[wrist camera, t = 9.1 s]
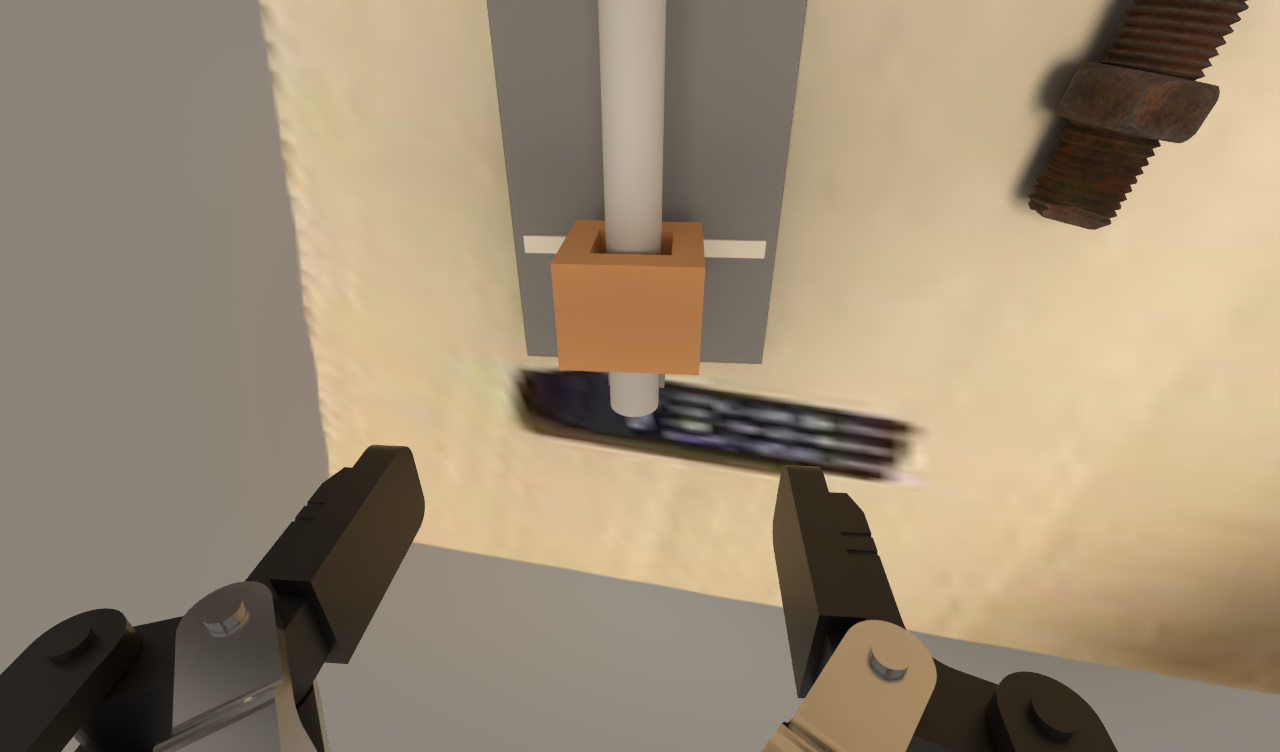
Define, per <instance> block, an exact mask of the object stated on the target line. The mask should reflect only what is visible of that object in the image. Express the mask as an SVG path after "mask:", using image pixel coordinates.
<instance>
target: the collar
mask: <svg viewBox="0 0 1280 752" xmlns="http://www.w3.org/2000/svg"><path fill="white" fill-rule="evenodd" d="M551 275H552V287H553V299H554V311H555V323H556V335H557V347H558V359H559V370H573V371H600V372H628V373H655V374H682V375H699V362H700V346H701V330H702V314H703V297H704V281H705V256H704V242H703V229H702V223H699V222H662V238H661V255H641V254H606V237H605V221H602V220H576V221H575V223H574V224H573V226H572V228H571V230H570V231H569V233H568V235H567V236H566V238H565V240H564V242H563V243H562V245H561V247H560V248H559V250H558V252H557V253H556V255H555V257H554V259H553V260H552V262H551Z"/></svg>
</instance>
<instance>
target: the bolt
mask: <svg viewBox="0 0 1280 752" xmlns="http://www.w3.org/2000/svg"><path fill="white" fill-rule="evenodd" d="M1133 1H1134V3H1135V4H1136V5H1135V6H1133V7H1131V8H1129V9H1127V12H1128V13H1129V15H1130V17H1127V18H1125V19H1123V20H1121V21H1122V23H1123V25H1124V27H1123V28H1121V29H1119V30H1117V31H1116V33H1117V35H1118V37H1119V38H1117V39H1115V40H1112V41H1110V43H1111V44H1112V46H1113V48H1112V49H1109V50H1107V51H1105V54H1106V55H1107V57H1108V58H1107V59H1105V60H1103V61H1100V62H1099V63H1094V62H1087V61H1082V62H1081V63H1080V65H1079V67H1078V69H1077V71H1076V72H1075V74H1074V76H1073V78H1072V80H1071V82H1070V84H1069V86H1068V88H1067V90H1066V92H1065V94H1064V95H1063V97H1062V99H1061V101H1060V103H1059V105H1058V107H1057V109H1056V111H1055V114H1056V115H1058V116H1061V117H1064V118H1067V119H1069V121H1070V122H1071V124H1072V125H1069V126H1067V127H1065V128H1064V129H1065V131H1066V132H1067V133H1066V134H1064V135H1062V136H1060V137H1059V138H1060V139H1061V140H1062V142H1061V143H1059V144H1056V145H1055V147H1056V148H1057V150H1058V151H1055V152H1053V153H1051V156H1052V157H1053V159H1051V160H1049V161H1047V162H1046V164H1047V165H1048V168H1046V169H1044V170H1041V172H1042V173H1043V175H1044V176H1042V177H1040V178H1038V179H1037V181H1038V183H1039V185H1036V186H1033V187H1032V188H1033V190H1034V191H1035V192H1034V193H1031V194H1028V196H1029V198H1030V199H1031V200H1030V202H1029V203H1028V205H1029V207H1030V209H1032V210H1036V211H1037V212H1038V213H1039V214H1040V215H1041V216H1043V217H1045V218H1049V219H1053V220H1056V221H1060V222H1064V223H1067V224H1071V225H1075V226H1079V227H1083V228H1086V229H1093V230H1095V229H1098V228H1101V227H1104V226H1107V225H1109V224H1111V220H1110V219H1109V218H1113V217H1116V216H1117V214H1116V212H1115V211H1114V210H1118V209H1121V205H1120V202H1122V201H1125V200H1127V199H1126V196H1125V193H1129V192H1131V191H1132V189H1131V186H1130V185H1132V184H1136V183H1137V179H1136V177H1135V176H1137V175H1141V174H1144V173H1143V171H1142V169H1141V167H1143V166H1147V165H1148V164H1149V163H1148V161H1147V158H1148V157H1151V156H1155V154H1154V152H1153V148H1156V147H1160V146H1161V145H1160V143H1159V141H1158V140H1162V141H1168V142H1175V143H1182V142H1184V141H1186V140H1188V139H1190V138H1191V137H1192V136H1193V135H1195V134H1196V132H1197V131H1198V129H1199V128H1200V126H1201V125H1202V123H1203V122H1204V120H1205V119H1206V117H1207V116H1208V114H1209V113H1210V111H1211V110H1212V108H1213V107H1214V105H1215V104H1216V102H1217V100H1218V97H1219V93H1220V91H1219V86H1215V85H1211V84H1206V83H1202V82H1197V81H1195V80H1196V79H1199V78H1202V77H1204V76H1205V75H1204V73H1203V72H1202V69H1204V68H1207V67H1210V66H1212V65H1211V63H1210V61H1209V58H1212V57H1214V56H1217V55H1219V54H1218V52H1217V50H1216V47H1219V46H1221V45H1224V44H1226V41H1225V40H1224V38H1223V36H1225V35H1227V34H1230V33H1232V32H1233V29H1232V28H1231V27H1230V26H1229V25H1231V24H1234V23H1236V22H1238V21H1240V20H1241V18H1240V17H1239V16H1238V14H1237V13H1239V12H1242V11H1244V10H1247V9H1248V8H1249V6H1248V5H1247V4H1246V3H1245V1H1247V0H1133Z"/></svg>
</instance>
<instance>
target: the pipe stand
mask: <svg viewBox="0 0 1280 752" xmlns="http://www.w3.org/2000/svg"><path fill="white" fill-rule="evenodd" d="M806 6H807V0H487V8H488V16H489V25H490V34H491V42H492V51H493V60H494V68H495V77H496V86H497V94H498V103H499V112H500V120H501V129H502V138H503V147H504V155H505V164H506V173H507V181H508V190H509V199H510V207H511V216H512V225H513V233H514V242H515V251H516V259H517V268H518V277H519V286H520V294H521V303H522V312H523V320H524V329H525V338H526V346H527V355H528V356H548V357H558V347H557V335H556V323H555V311H554V299H553V287H552V275H551V262H552V260H553V259H554V257H555V255H556V253H557V252H558V250H559V248H560V247H561V245H562V243H563V242H564V240H565V238H566V236H567V235H568V233H569V231H570V230H571V228H572V226H573V224H574V223H575V221H576V220H602V221H605V237H606V254H641V255H661V238H662V222H699V223H702V229H703V242H704V256H705V281H704V297H703V314H702V330H701V346H700V362H719V363H747V364H762V356H763V348H764V340H765V332H766V324H767V316H768V308H769V300H770V292H771V285H772V277H773V269H774V261H775V253H776V245H777V237H778V229H779V221H780V213H781V205H782V197H783V189H784V181H785V173H786V165H787V157H788V149H789V141H790V133H791V126H792V118H793V110H794V102H795V94H796V86H797V78H798V70H799V62H800V54H801V46H802V38H803V30H804V22H805V14H806ZM608 375H609V386H610V396H611V407H612V409H613V410H614V411H615V412H617V413H618V414H621V415H623V416H628V417H640V416H645V415H648V414H650V413H652V412H654V411H655V410H656V409H657V407H658V390H659V388H664V379H665V374H655V373H628V372H608Z"/></svg>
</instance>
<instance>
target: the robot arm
mask: <svg viewBox="0 0 1280 752" xmlns="http://www.w3.org/2000/svg"><path fill="white" fill-rule="evenodd" d="M424 511H425V501H424V496H423V492H422V488H421V484H420V480H419V477H418V473H417V469H416V465H415V462H414V458H413V454H412V452H411V450H410V449H409V448H408V447H406V446H385V445H371V446H369V447H368V448H367V449H366V450H365V452H364V453H363V454H362V456H361V457H360V458H359V460H358V461H357V462H356V464H355V465H354V466H353V468H347V467H344V468H343V469H342V470H340V471H339V472H338V473H336V474H335V475H333V476H332V477H331V478H329V479H328V480H326V481H325V482H324V483H322V485H321V486H320V487H319V488H318V490H317V491H316V492H315V493H314V495H313V496H312V497H311V498H310V500H309V501H308V504H307V506H304V507H303V508H302V510H301V511H300V512H299V513H298V515H297V516H296V517H295V522H291V524H290V525H289V526H288V528H287V529H286V530H285V531H284V532H283V534H282V535H281V536H280V537H279V539H278V540H277V541H276V543H275V544H274V545H273V546H272V548H271V549H270V550H269V552H268V553H267V554H266V555H265V556H264V558H263V559H262V560H261V561H260V563H259V564H258V565H257V567H256V568H255V569H254V570H253V572H252V573H251V574H250V575H249V577H248V578H247V579H246V580H245V581H244V582H238V583H233V584H230V585H227V586H224V587H222V588H219V589H217V590H215V591H214V592H212V593H210V594H208V595H207V596H205V597H204V598H202V599H201V600H199V601H198V602H197V603H196V604H195V605H193V607H192V608H191V609H189V610H188V612H187V613H186V614H185V615H184V616H182V617H177V618H172V619H168V620H163V621H158V622H153V623H149V624H144V625H139V626H134V627H132V626H131V624H130V623H129V622H128V620H127V619H126V617H125V616H124V615H123V613H121V612H120V611H118V610H114V609H107V608H106V609H96V610H91V611H87V612H84V613H81V614H78V615H76V616H73V617H71V618H69V619H67V620H65V621H62V622H61V623H59V624H57V625H55V626H54V627H52V628H51V629H49V630H48V631H46V632H45V633H44V634H42V635H41V636H40V637H39V638H37V639H36V640H35V641H34V642H33V643H32V644H31V645H29V646H28V648H27V649H25V651H24V652H23V653H21V655H20V656H19V657H18V658H17V659H16V660H15V661H14V662H13V663H12V664H11V665H10V666H9V667H8V668H7V669H6V670H5V671H4V672H3V673H2V674H1V675H0V752H61V751H62V750H63V748H64V747H65V746H66V745H67V743H68V742H69V741H70V740H71V738H72V737H74V738H75V739H76V740H77V741H78V742H79V743H80V745H79V747H78V748H77V749H76V750H75V752H331V751H330V746H329V740H328V735H327V729H326V724H325V719H324V713H323V707H322V702H321V696H320V691H319V686H318V682H317V680H316V676H317V674H318V673H319V671H320V669H321V667H322V666H323V664H324V662H327V663H341V664H348V662H349V660H350V659H351V657H352V655H353V653H354V651H355V649H356V647H357V645H358V644H359V641H360V640H361V638H362V636H363V634H364V632H365V630H366V628H367V626H368V625H369V623H370V621H371V619H372V617H373V615H374V613H375V611H376V610H377V608H378V606H379V604H380V602H381V600H382V598H383V596H384V594H385V592H386V591H387V588H388V587H389V585H390V583H391V581H392V579H393V577H394V576H395V574H396V572H397V570H398V568H399V566H400V564H401V562H402V560H403V559H404V557H405V555H406V553H407V551H408V549H409V547H410V545H411V544H412V542H413V540H414V538H415V536H416V534H417V532H418V530H419V528H420V526H421V524H422V521H423V517H424ZM773 546H774V553H775V559H776V565H777V572H778V578H779V584H780V590H781V596H782V603H783V609H784V614H785V621H786V627H787V634H788V640H789V645H790V652H791V658H792V665H793V671H794V677H795V683H796V689H797V695H798V698H805V699H804V700H803V702H802V704H801V705H800V707H799V708H798V710H797V711H796V713H795V715H794V716H793V717H792V719H791V720H790V721H789V722H788V723H786V722H783V723H782V724H781V725H780V726H779V727H778V728H777V730H776V731H775V732H774V734H773V735H772V737H771V738H770V740H769V741H768V743H767V744H766V746H765V748H764V749H763V750H762V752H1118V751H1117V749H1116V748H1115V746H1114V744H1113V742H1112V740H1111V738H1110V736H1109V734H1108V733H1107V731H1106V729H1105V727H1104V725H1103V723H1102V722H1101V720H1100V719H1099V717H1098V715H1097V714H1096V713H1095V711H1094V710H1093V709H1092V708H1091V707H1090V706H1089V704H1088V703H1087V702H1086V701H1085V700H1084V699H1082V698H1081V697H1080V696H1079V695H1078V694H1077V693H1075V692H1074V691H1073V690H1071V689H1070V688H1068V687H1067V686H1065V685H1064V684H1062V683H1060V682H1058V681H1057V680H1054V679H1052V678H1050V677H1047V676H1044V675H1041V674H1038V673H1033V672H1016V673H1013V674H1010V675H1008V676H1006V677H1005V678H1004V679H1003V680H1002V681H1001V682H1000V684H999V685H997V684H994V683H992V682H989V681H986V680H983V679H981V678H978V677H975V676H972V675H969V674H966V673H963V672H961V671H958V670H955V669H953V668H951V667H948V666H946V665H944V664H942V663H941V662H939V661H937V660H936V659H934V658H933V657H931V655H930V653H929V652H928V650H927V649H926V647H925V646H924V645H923V644H922V643H921V642H920V641H919V640H918V639H917V638H916V637H915V636H914V635H912V634H911V633H909V632H908V631H907V630H906V628H905V626H904V624H903V621H902V619H901V616H900V613H899V610H898V607H897V605H896V602H895V599H894V596H893V593H892V591H891V588H890V585H889V582H888V579H887V576H886V574H885V571H884V568H883V565H882V562H881V560H880V557H879V556H878V555H877V548H876V546H875V543H874V540H873V538H871V532H870V529H869V526H868V523H867V520H866V517H865V515H864V512H863V511H862V510H861V509H860V508H859V506H858V505H857V504H856V503H855V502H854V501H853V500H852V499H851V498H850V496H849V495H848V494H847V493H831V492H829V491H828V488H827V484H826V481H825V478H824V474H823V471H822V469H821V468H820V467H812V466H790V465H784V466H783V468H782V471H781V476H780V482H779V488H778V494H777V500H776V506H775V512H774V518H773Z"/></svg>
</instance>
